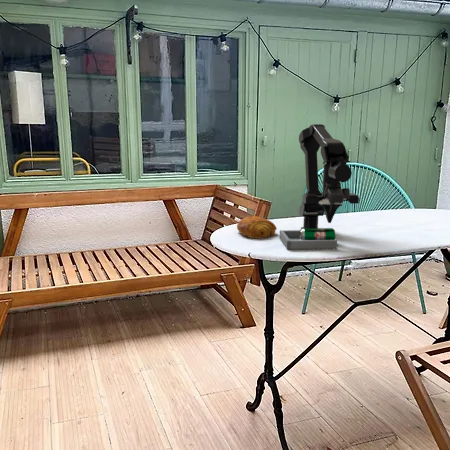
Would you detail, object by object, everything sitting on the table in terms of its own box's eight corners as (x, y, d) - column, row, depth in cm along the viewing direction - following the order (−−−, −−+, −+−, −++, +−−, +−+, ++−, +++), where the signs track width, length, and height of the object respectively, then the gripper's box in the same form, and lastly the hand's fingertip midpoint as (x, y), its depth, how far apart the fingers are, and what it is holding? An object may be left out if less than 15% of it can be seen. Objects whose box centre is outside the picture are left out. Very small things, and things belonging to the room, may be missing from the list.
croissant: (244, 245, 169) (245, 225, 166) (233, 230, 183) (233, 211, 180) (281, 242, 173) (282, 222, 170) (267, 227, 187) (268, 209, 184)
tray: (279, 238, 171) (279, 230, 170) (324, 237, 172) (324, 229, 171) (287, 249, 155) (287, 241, 154) (336, 249, 156) (337, 240, 155)
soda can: (336, 242, 161) (302, 242, 160) (332, 242, 166) (299, 242, 165) (335, 228, 161) (302, 228, 160) (331, 228, 166) (298, 228, 165)
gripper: (310, 181, 150) (308, 228, 154) (366, 181, 151) (363, 227, 155) (302, 177, 161) (301, 221, 165) (355, 177, 162) (352, 220, 166)
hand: (329, 222), depth 162 cm, fingers closed
